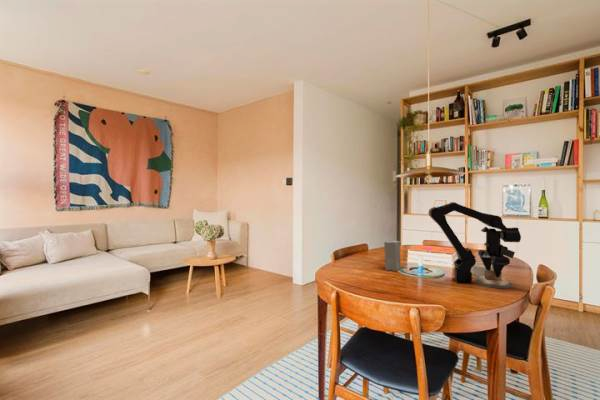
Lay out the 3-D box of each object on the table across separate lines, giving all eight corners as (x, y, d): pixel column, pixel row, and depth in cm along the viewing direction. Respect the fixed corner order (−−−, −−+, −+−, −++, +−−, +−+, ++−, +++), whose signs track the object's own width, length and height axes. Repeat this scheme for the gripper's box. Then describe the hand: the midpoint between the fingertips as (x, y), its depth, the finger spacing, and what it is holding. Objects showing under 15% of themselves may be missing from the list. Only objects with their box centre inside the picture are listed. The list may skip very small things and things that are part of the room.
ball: (480, 273, 155) (480, 265, 155) (477, 271, 159) (477, 264, 159) (489, 273, 154) (489, 266, 154) (485, 271, 158) (485, 264, 158)
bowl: (475, 276, 152) (475, 267, 152) (467, 271, 163) (467, 262, 163) (499, 277, 150) (499, 267, 150) (489, 271, 161) (490, 262, 161)
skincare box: (396, 271, 164) (396, 242, 163) (383, 269, 168) (383, 241, 168) (401, 268, 170) (401, 240, 170) (389, 266, 175) (389, 239, 174)
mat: (482, 287, 135) (482, 285, 135) (469, 278, 150) (469, 276, 150) (519, 289, 132) (519, 287, 132) (502, 279, 147) (502, 277, 147)
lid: (483, 285, 136) (483, 274, 136) (472, 277, 149) (472, 267, 148) (515, 286, 133) (515, 275, 133) (501, 278, 146) (501, 268, 146)
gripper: (523, 245, 130) (523, 281, 130) (502, 238, 148) (502, 270, 149) (495, 245, 132) (494, 280, 132) (477, 238, 150) (477, 269, 151)
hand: (492, 274), depth 141 cm, fingers open, 9 cm apart
